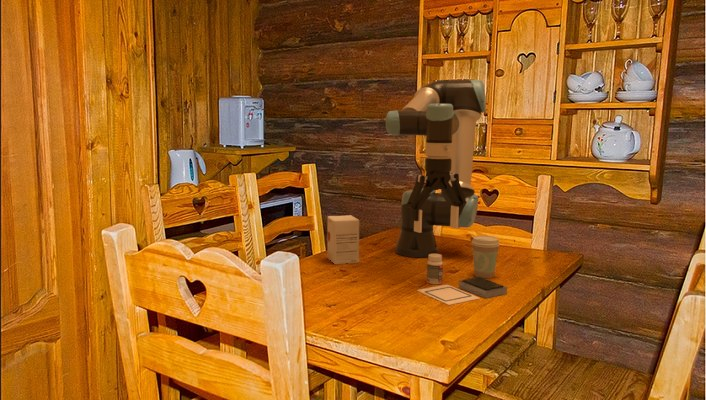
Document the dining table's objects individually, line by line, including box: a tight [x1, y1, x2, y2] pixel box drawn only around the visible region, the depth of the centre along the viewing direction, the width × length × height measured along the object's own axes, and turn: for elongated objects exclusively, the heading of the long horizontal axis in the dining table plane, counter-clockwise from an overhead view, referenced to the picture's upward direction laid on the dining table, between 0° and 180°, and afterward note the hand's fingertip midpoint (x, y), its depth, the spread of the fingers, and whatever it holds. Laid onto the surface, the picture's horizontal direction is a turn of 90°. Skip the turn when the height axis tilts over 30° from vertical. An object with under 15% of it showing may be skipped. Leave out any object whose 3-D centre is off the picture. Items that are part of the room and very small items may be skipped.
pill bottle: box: [426, 253, 444, 285], centre depth 166 cm, size 5×5×8 cm
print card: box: [416, 284, 481, 306], centre depth 156 cm, size 14×11×1 cm
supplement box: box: [326, 214, 360, 265], centre depth 190 cm, size 9×9×15 cm
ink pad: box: [458, 277, 508, 299], centre depth 159 cm, size 11×8×2 cm
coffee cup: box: [471, 235, 501, 279], centre depth 173 cm, size 9×9×12 cm
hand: (436, 229), depth 164 cm, fingers open, 13 cm apart
